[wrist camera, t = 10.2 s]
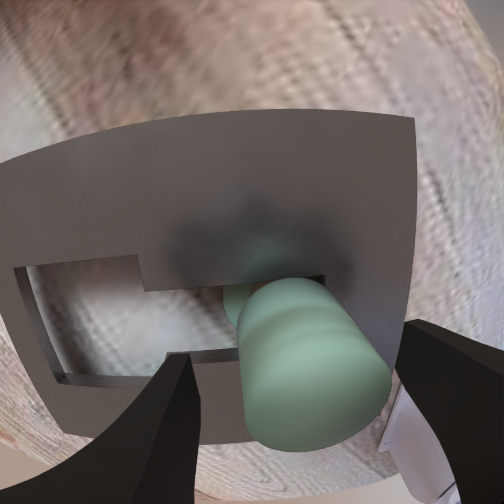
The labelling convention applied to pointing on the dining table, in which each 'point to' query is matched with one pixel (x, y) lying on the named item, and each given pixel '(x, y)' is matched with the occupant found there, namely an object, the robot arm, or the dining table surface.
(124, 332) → the dining table surface
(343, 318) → the peg
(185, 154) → the keyhole plate
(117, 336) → the dining table surface
